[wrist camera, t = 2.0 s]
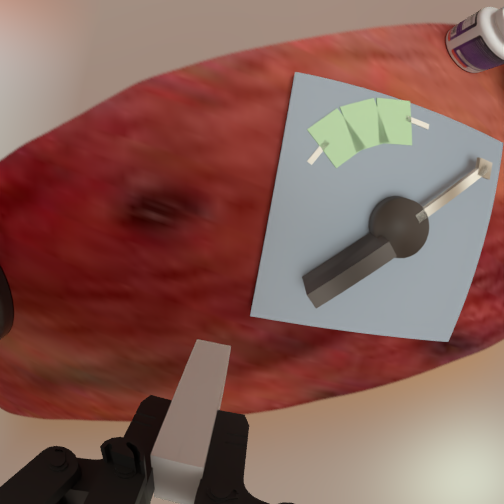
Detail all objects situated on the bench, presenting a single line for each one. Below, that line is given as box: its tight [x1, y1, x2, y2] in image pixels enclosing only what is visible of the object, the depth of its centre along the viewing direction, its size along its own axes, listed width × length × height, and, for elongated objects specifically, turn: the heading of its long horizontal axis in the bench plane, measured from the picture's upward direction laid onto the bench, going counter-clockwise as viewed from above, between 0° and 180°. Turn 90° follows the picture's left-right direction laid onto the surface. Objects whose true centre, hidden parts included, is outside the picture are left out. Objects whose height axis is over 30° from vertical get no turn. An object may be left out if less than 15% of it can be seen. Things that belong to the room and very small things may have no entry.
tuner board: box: [250, 72, 503, 342], centre depth 27 cm, size 22×22×2 cm
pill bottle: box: [446, 7, 504, 73], centre depth 18 cm, size 5×5×10 cm
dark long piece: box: [302, 157, 492, 308], centre depth 24 cm, size 21×5×4 cm, turn 125°
